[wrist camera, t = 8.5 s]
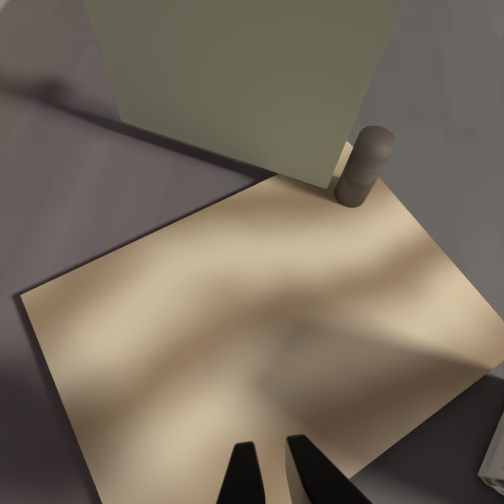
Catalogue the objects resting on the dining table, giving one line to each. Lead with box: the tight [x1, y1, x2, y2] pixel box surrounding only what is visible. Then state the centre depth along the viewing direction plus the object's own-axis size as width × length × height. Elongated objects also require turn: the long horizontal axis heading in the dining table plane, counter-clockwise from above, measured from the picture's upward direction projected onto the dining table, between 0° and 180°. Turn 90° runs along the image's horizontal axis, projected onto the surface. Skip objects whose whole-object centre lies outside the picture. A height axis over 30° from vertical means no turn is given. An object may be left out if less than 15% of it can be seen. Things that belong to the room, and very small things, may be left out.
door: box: [84, 0, 404, 189], centre depth 20 cm, size 3×14×14 cm, turn 70°
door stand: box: [20, 126, 504, 504], centre depth 20 cm, size 16×22×6 cm
